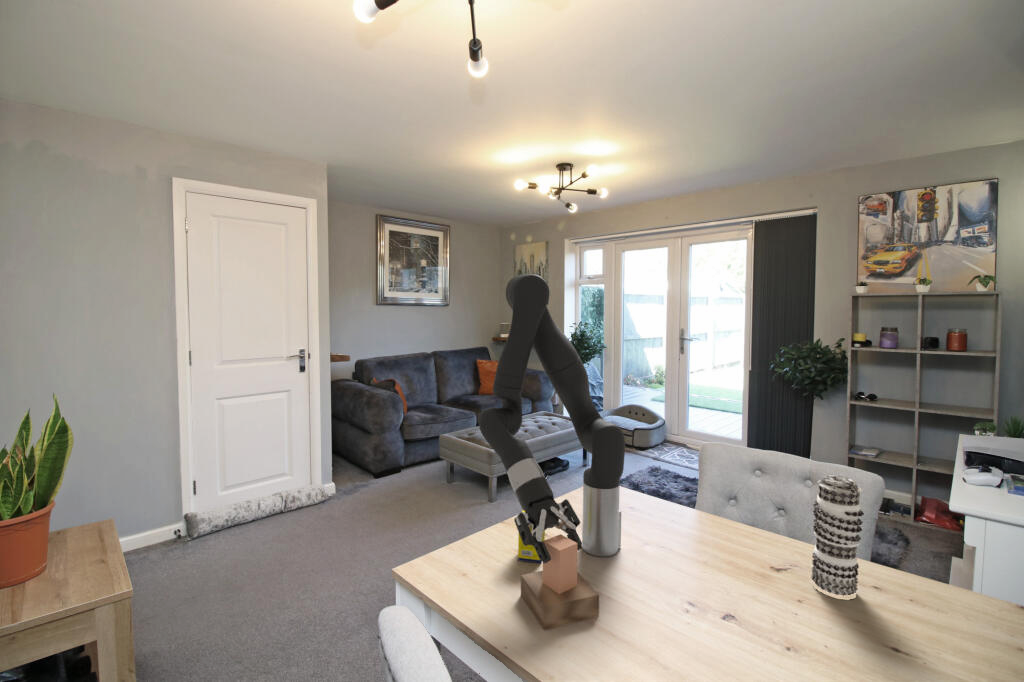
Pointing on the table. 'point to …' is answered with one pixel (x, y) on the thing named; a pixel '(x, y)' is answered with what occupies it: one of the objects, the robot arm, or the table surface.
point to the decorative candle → (836, 535)
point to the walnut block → (559, 601)
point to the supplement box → (528, 548)
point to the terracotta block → (560, 564)
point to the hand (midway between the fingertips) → (563, 555)
